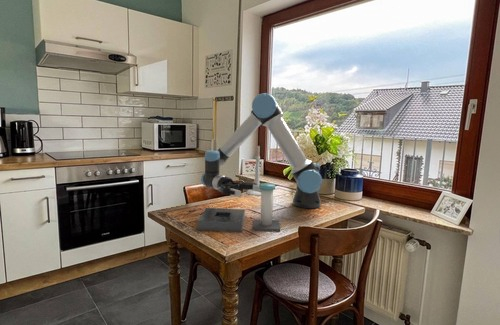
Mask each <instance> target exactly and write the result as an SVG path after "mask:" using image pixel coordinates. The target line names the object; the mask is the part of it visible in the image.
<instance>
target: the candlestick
mask: <svg viewBox="0 0 500 325" xmlns="http://www.w3.org/2000/svg"><path fill="white" fill-rule="evenodd" d="M255 148H256V151H255V155H256V156H254V158H255V171H254V172H255V173H254V182H253V183H255V184H257V186H259V184H261V183H260V160H261V156H260V153H261V152H260V145H256V147H255ZM245 193H246V194H247V195H248V194H250V196H253V195H255V197H256V196H257V197H258V196H259V197H261V193H260V192H257V191H253V190H250V189H247V190H246V192H245Z"/></svg>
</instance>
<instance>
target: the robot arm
mask: <svg viewBox="0 0 500 325" xmlns="http://www.w3.org/2000/svg"><path fill="white" fill-rule="evenodd" d="M251 109H252V110H251V111H250V115H249V116H248V117H247V118H246V119H245V120H244V121H243V122H242V123H241V124H240V125H239V127H238V128H237V129H235V131H234V132H233V133H232V134H231V135H230V137H228V138H227V139H226V141H225V142H223V144H222V145H221V146H220V147H219V148H218V149H217V150H214V149H213V150H206V151H205V153H204V173H203V174H202V176H201V177H200V182H201V184H202V185H203V186H205V187H207V188H209V189H214V190H217V191H218V192H221V194H222V195H223V196H224V195H226V196H227V197H230V195H231V196H235V197H237V198H242V190H253V191H257V192H260V193H261V189H259V186H257V184H255V183H254V182H252V183H251V182H243V181H238V182H236V181H234V180H233V179H232V178H231V177H228V176H225V175H221V174H220V166H222V165H224V164H225V163H226V162H227V160H228V159H229V158H230V157H231V156H232V155H233V154H234V153H235V152H236V151H237V150H238V149H239V148H240V147H241V146H242V145H243V143H245V142H246V141H247V139H248V138H249V137H250V136H252V135H253V133H254V132H255V131H256V130H257V129H258V128H259V127H260V126H261V125H262V126H264V127H265V128H266V127H267V129H268V130H269V132H270V134H271V135H272V137H273V139H274V140H275V143H276V144H277V146H278V147H279V149H280V150H281V153H282V154H283V155H284V158H285V159H286V161H287V162H288V164H289V165H290V167H291V171H290V173H291V175H292V177H293V178H294V180H295V181H296V190H295V193H294V195H293V198H292V205H293V206H295V207H297V208H301V209H303V208H304V209H317V208H320V207H321V205H322V204H321V198H320V193H319V190H320V188H321V187H322V184H323V177H322V175H321V174H320V170H321V166H320V164H319V163H313V161H312V160H310V159H307V157H306V155H305V153H304V152H303V149H302V148H301V147H300V145H299V144H298V142H297V140H296V138H295V137H294V134H293V133H292V131H291V130H290V128H289V126H288V125H287V123H286V121H285V120H284V117H283V115H284V112H283V111H282V109H281V107H280V105H279V103H278V101H277V100H276V98H275V97H274V96H273V95H272V94H270V93H267V92H263V93H259V94H258V95H256V96H255V97H254V98H253V100H252V103H251Z"/></svg>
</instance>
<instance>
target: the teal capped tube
mask: <svg viewBox="0 0 500 325" xmlns="http://www.w3.org/2000/svg"><path fill="white" fill-rule="evenodd" d="M259 189H261V196H260V220H261V225H263V226H270V225H272V220H273V212H274V211H273V206H274V202H273V201H274V190H276V184H275V183H271V182H266V183H264V182H263V183H260V184H259Z"/></svg>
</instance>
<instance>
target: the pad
mask: <svg viewBox="0 0 500 325" xmlns="http://www.w3.org/2000/svg"><path fill="white" fill-rule="evenodd" d="M280 225H281V224H280V220H278V219H277V220H276V219H272V225H270V226H263V225H261V219H257V218H255V219H253V226H252V227H253V229H252V231H260V232H261V231H262V232H263V231H264V232H281V226H280Z"/></svg>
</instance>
